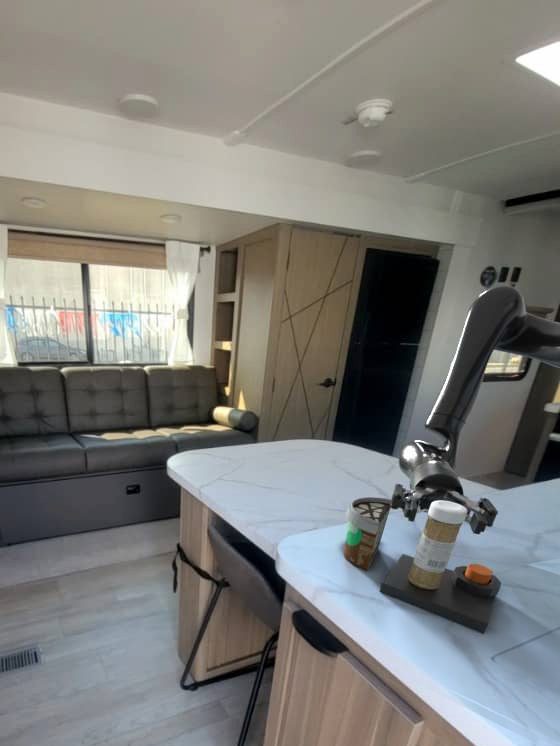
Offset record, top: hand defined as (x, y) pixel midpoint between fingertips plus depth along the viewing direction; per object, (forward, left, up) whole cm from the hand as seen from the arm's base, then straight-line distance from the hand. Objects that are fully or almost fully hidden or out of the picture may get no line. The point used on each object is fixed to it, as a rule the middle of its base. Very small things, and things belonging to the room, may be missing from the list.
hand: (445, 522), depth 60 cm
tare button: (-6, -4, -9) cm, 12 cm away
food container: (+12, -4, -13) cm, 18 cm away
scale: (-2, -1, -12) cm, 13 cm away
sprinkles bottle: (0, +1, -11) cm, 11 cm away
